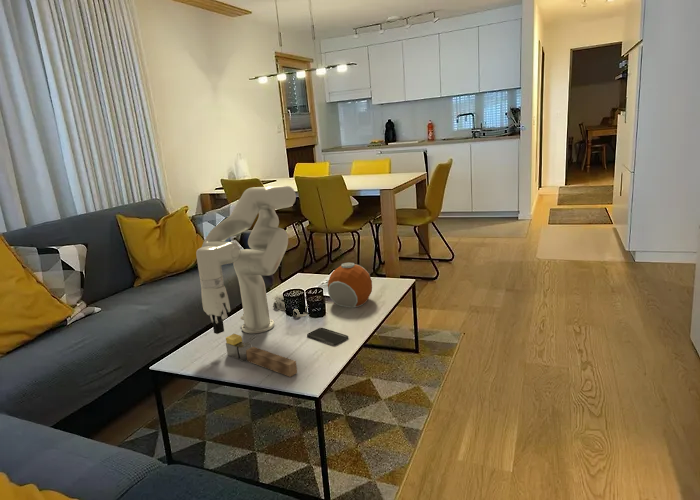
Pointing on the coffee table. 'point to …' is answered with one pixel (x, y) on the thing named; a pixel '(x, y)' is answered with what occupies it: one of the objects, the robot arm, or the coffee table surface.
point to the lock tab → (233, 339)
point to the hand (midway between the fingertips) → (219, 332)
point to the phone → (327, 336)
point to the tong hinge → (238, 350)
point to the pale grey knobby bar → (281, 306)
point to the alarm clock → (349, 285)
